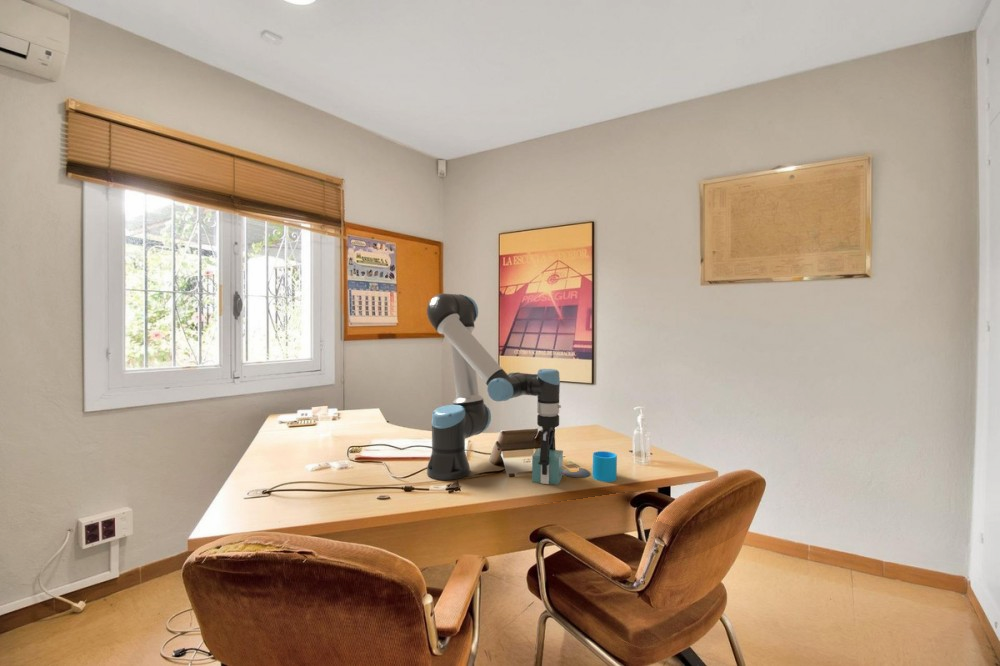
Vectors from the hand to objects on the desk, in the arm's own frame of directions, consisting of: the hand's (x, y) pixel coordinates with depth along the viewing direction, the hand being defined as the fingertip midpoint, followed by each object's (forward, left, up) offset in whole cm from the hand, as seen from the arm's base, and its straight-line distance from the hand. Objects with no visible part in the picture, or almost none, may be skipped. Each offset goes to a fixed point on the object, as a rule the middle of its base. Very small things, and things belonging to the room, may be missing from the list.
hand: (547, 478), depth 161 cm
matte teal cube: (0, 0, 0) cm, 0 cm away
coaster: (+8, +9, 0) cm, 12 cm away
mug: (+18, +9, 0) cm, 20 cm away
